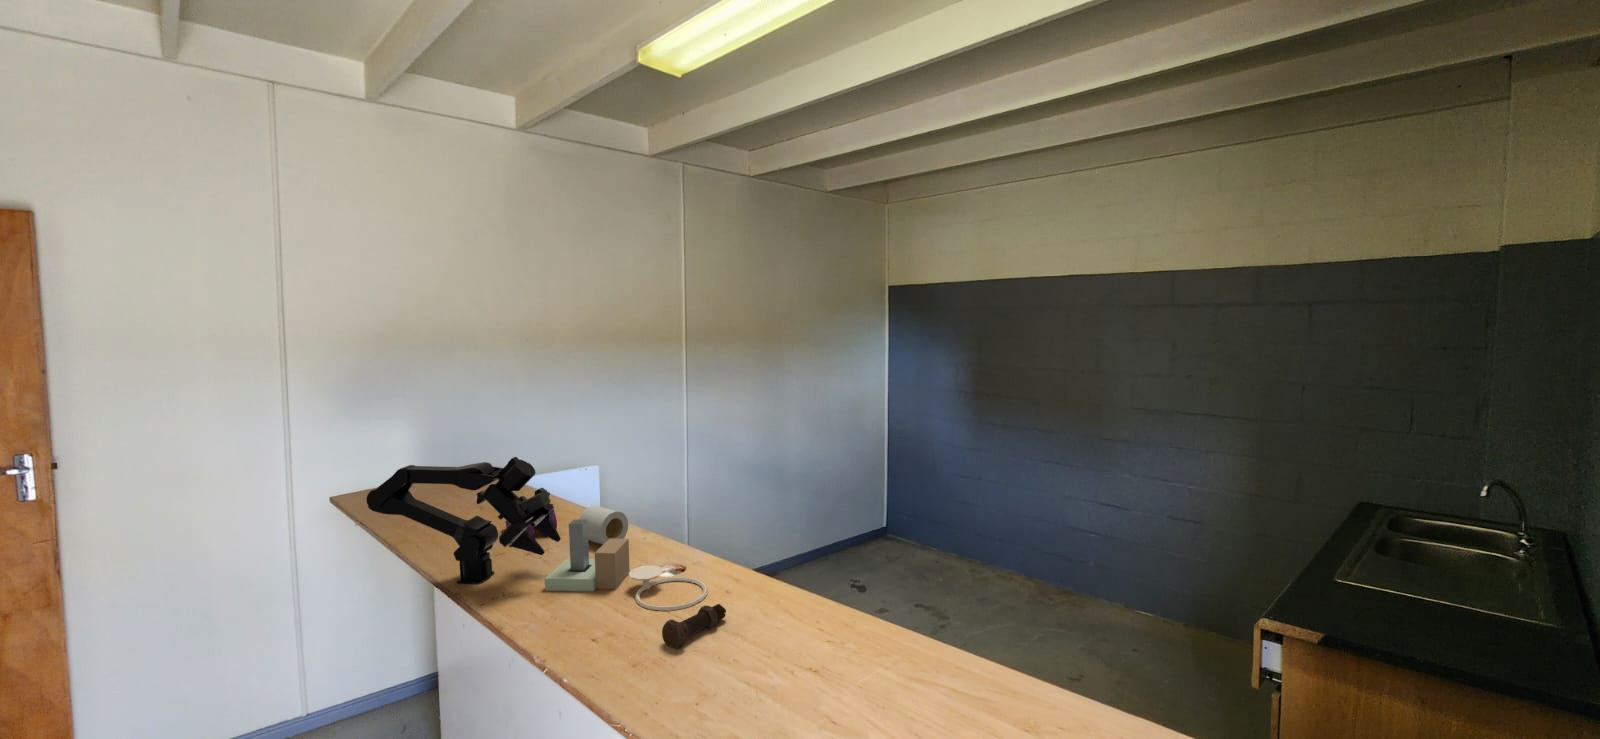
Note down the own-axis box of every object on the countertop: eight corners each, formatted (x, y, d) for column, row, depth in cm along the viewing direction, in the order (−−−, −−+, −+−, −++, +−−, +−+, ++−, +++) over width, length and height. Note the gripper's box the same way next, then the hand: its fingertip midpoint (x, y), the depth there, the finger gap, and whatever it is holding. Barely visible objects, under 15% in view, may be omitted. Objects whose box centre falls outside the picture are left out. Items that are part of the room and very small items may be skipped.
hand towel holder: (676, 600, 142) (607, 581, 151) (676, 619, 142) (608, 599, 152) (721, 572, 156) (656, 557, 166) (722, 589, 157) (656, 573, 167)
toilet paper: (578, 544, 188) (577, 510, 187) (606, 534, 196) (605, 502, 195) (600, 551, 182) (599, 516, 181) (628, 540, 190) (627, 507, 189)
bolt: (724, 628, 141) (672, 655, 129) (709, 611, 143) (658, 636, 131) (734, 609, 139) (683, 635, 127) (719, 592, 141) (667, 616, 129)
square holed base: (545, 590, 156) (543, 554, 155) (568, 569, 169) (566, 535, 168) (613, 591, 155) (612, 555, 154) (631, 570, 168) (630, 536, 167)
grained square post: (571, 582, 161) (568, 523, 159) (576, 577, 164) (574, 519, 163) (584, 582, 161) (582, 524, 159) (589, 577, 164) (587, 519, 163)
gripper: (509, 491, 151) (557, 538, 152) (545, 472, 170) (587, 513, 170) (478, 523, 152) (525, 570, 153) (517, 500, 171) (559, 542, 171)
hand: (551, 547), depth 162 cm, fingers open, 9 cm apart
